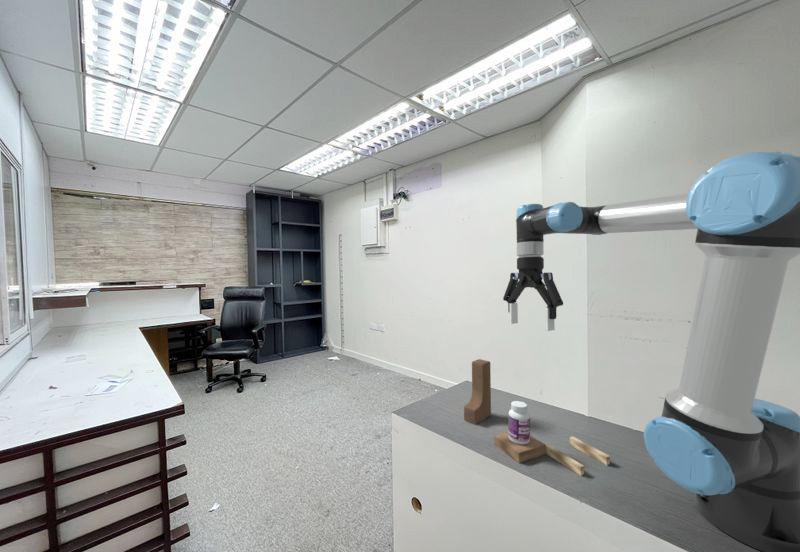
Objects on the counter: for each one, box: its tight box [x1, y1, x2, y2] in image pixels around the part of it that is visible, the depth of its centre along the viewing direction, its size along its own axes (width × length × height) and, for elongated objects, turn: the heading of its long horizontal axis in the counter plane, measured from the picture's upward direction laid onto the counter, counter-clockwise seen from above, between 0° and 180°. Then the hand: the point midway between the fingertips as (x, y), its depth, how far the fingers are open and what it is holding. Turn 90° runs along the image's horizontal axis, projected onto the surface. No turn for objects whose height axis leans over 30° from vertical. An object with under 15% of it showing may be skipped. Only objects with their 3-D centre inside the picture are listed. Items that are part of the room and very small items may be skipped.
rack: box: [545, 436, 611, 476], centre depth 77 cm, size 10×10×2 cm
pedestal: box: [493, 431, 547, 464], centre depth 82 cm, size 9×9×2 cm
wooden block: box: [463, 358, 492, 425], centre depth 99 cm, size 9×4×18 cm, turn 131°
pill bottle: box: [508, 400, 531, 445], centre depth 82 cm, size 5×5×10 cm
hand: (530, 326), depth 93 cm, fingers open, 13 cm apart
